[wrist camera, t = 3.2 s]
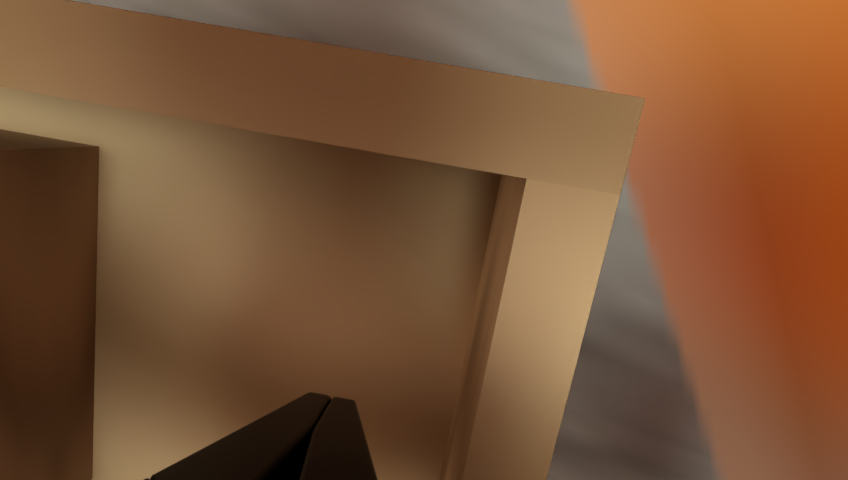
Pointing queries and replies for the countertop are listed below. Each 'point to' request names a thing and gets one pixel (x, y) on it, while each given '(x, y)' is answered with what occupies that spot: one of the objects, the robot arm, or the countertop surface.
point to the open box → (323, 235)
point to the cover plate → (47, 306)
